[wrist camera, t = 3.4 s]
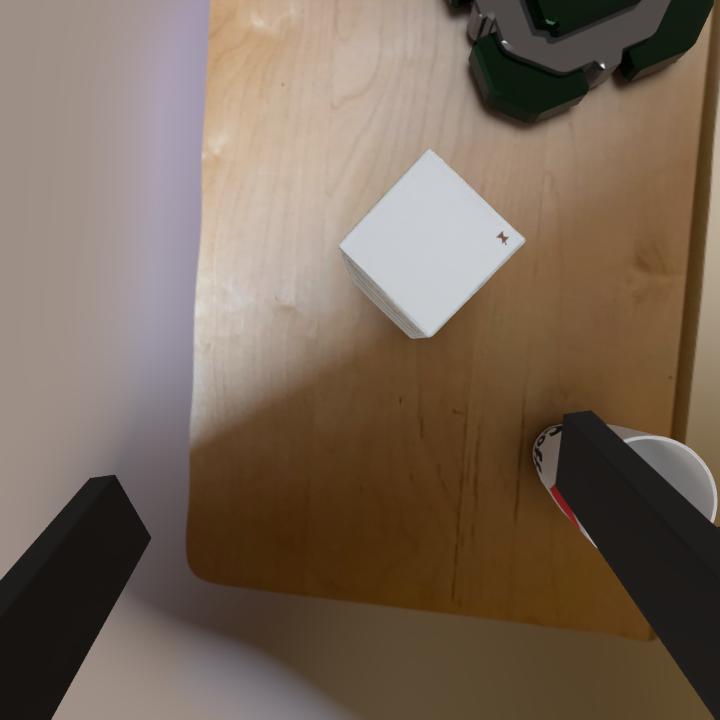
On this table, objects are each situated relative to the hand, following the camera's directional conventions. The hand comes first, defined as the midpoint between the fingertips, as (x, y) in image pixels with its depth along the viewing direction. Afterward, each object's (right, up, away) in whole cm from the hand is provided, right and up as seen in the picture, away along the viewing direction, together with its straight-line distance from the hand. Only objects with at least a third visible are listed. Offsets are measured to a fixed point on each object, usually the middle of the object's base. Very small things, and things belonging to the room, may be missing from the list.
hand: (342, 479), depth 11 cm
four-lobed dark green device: (+17, +33, +20) cm, 42 cm away
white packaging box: (+5, +10, +21) cm, 24 cm away
